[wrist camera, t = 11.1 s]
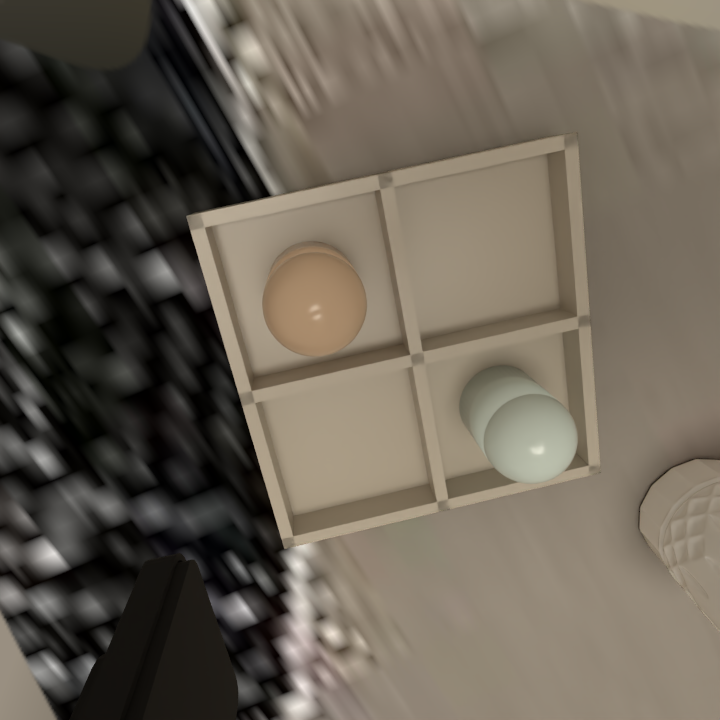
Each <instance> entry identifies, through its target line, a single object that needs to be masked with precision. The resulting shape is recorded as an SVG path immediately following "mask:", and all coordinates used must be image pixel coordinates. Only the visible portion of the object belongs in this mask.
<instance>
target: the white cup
mask: <svg viewBox="0 0 720 720" xmlns="http://www.w3.org/2000/svg"><path fill="white" fill-rule="evenodd" d="M639 529H640V531H641V533H642V535H643V537H644V538H645V540H646V542H647V544H648V546H649V547H650V548H651V550H652V551H653V552H654V553H655V554H656V555H657V556H658V558H659V559H660V560H661V561H662V562H663V563H664V564H665V566H666V567H667V569H668V571H669V572H670V573H671V575H672V576H673V577H674V579H675V580H676V581H677V582H678V584H679V585H680V586H681V587H682V588H683V589H684V590H685V592H686V593H687V594H688V596H689V597H690V598H691V599H692V601H693V602H694V603H695V604H696V605H697V607H698V608H699V609H700V611H701V612H702V613H703V614H704V615H705V617H706V618H707V619H708V620H709V621H710V622H711V624H712V625H713V626H714V627H715V628H716V629H717V631H718V632H719V633H720V460H709V459H694V460H692V461H689V462H686V463H684V464H681V465H679V466H676V467H673V468H671V469H670V470H669V471H668V472H667V473H665V474H664V475H663V476H662V477H661V478H660V479H658V480H657V481H656V482H655V483H654V484H653V485H652V486H651V488H650V489H649V491H648V493H647V495H646V497H645V499H644V501H643V503H642V505H641V507H640V523H639Z"/></svg>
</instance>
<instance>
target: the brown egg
mask: <svg viewBox="0 0 720 720" xmlns="http://www.w3.org/2000/svg"><path fill="white" fill-rule="evenodd" d="M262 309H263V315H264V319H265V322H266V325H267V327H268V329H269V331H270V332H271V334H272V335H273V336H274V338H275V339H276V340H277V341H278V342H279V343H280V344H281V345H283V346H284V347H285V348H287V349H288V350H290V351H292V352H294V353H297V354H300V355H304V356H311V357H320V356H326V355H330V354H333V353H335V352H338V351H340V350H341V349H343V348H345V347H346V346H347V345H349V344H350V343H351V342H352V341H353V340H354V339H355V337H356V336H357V335H358V333H359V332H360V330H361V328H362V326H363V323H364V321H365V317H366V312H367V298H366V292H365V289H364V286H363V283H362V281H361V279H360V277H359V276H358V274H357V272H356V271H355V269H354V268H353V266H352V264H351V263H350V261H349V260H348V258H347V257H346V256H345V255H344V254H343V253H342V252H341V251H339V250H338V249H337V248H335V247H333V246H331V245H329V244H327V243H323V242H318V241H306V242H301V243H297V244H295V245H292V246H290V247H289V248H287V249H286V250H284V251H283V252H282V253H281V254H280V255H279V256H278V257H277V258H276V260H275V261H274V263H273V265H272V266H271V269H270V272H269V275H268V278H267V281H266V285H265V288H264V292H263V298H262Z"/></svg>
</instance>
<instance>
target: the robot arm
mask: <svg viewBox="0 0 720 720" xmlns="http://www.w3.org/2000/svg"><path fill="white" fill-rule="evenodd" d="M237 706H238V685H237V680H236V676H235V673H234V670H233V667H232V664H231V661H230V658H229V655H228V652H227V650H226V647H225V644H224V641H223V638H222V635H221V632H220V629H219V626H218V623H217V620H216V617H215V614H214V612H213V609H212V606H211V603H210V600H209V597H208V594H207V591H206V588H205V585H204V582H203V579H202V576H201V573H200V571H199V568H198V565H197V563H196V562H195V560H188V561H186V560H185V557H184V556H183V555H182V554H180V553H179V554H174V555H169V556H165V557H160V558H155V559H151V560H147V561H146V562H145V563H144V564H143V566H142V569H141V571H140V573H139V576H138V578H137V581H136V583H135V585H134V588H133V590H132V592H131V595H130V597H129V600H128V602H127V604H126V607H125V609H124V612H123V614H122V616H121V619H120V621H119V624H118V626H117V628H116V631H115V633H114V635H113V638H112V640H111V643H110V645H109V647H108V650H107V652H106V654H103V655H102V656H101V657H99V658H98V659H97V660H96V662H95V664H94V666H93V667H92V669H91V672H90V674H89V676H88V679H87V681H86V683H85V685H84V688H83V690H82V692H81V695H80V697H79V699H78V702H77V704H76V706H75V708H74V711H73V713H72V715H71V718H70V720H236V713H237Z"/></svg>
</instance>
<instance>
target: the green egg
mask: <svg viewBox="0 0 720 720" xmlns="http://www.w3.org/2000/svg"><path fill="white" fill-rule="evenodd" d="M459 411H460V416H461V419H462V422H463V423H464V425H465V427H466V428H467V430H468V431H469V432H470V434H471V435H472V437H473V438H474V440H475V441H476V443H477V444H478V446H479V447H480V449H481V450H482V452H483V453H484V455H485V456H486V457H487V459H488V460H489V462H490V463H491V464H492V466H493V467H494V468H495V469H496V470H497V471H498V472H499V473H501V474H502V475H504V476H505V477H507V478H509V479H511V480H513V481H516V482H520V483H525V484H537V483H543V482H546V481H549V480H552V479H554V478H555V477H557V476H559V475H560V474H561V473H562V472H564V471H565V470H566V469H567V467H568V466H569V465H570V463H571V462H572V460H573V458H574V455H575V453H576V449H577V443H578V434H577V429H576V425H575V422H574V420H573V418H572V416H571V414H570V413H569V411H568V410H567V409H566V408H565V407H564V406H563V405H562V404H561V403H560V402H559V401H558V400H557V399H556V398H554V397H553V396H552V395H551V394H550V393H549V392H547V391H546V390H545V389H544V388H543V387H542V386H540V385H539V384H538V383H537V382H536V381H535V380H533V379H532V378H531V377H530V376H529V375H528V374H526V373H525V372H524V371H522V370H520V369H519V368H516V367H513V366H507V365H498V366H493V367H489V368H487V369H485V370H483V371H481V372H479V373H478V374H476V375H475V376H474V377H473V378H472V379H471V380H470V381H469V382H468V383H467V385H466V386H465V388H464V390H463V392H462V394H461V397H460V402H459Z"/></svg>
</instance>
